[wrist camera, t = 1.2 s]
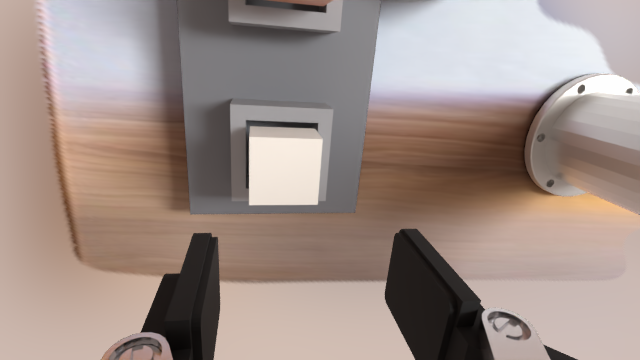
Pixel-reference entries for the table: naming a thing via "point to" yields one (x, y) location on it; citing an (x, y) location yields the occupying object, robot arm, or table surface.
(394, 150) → the table surface
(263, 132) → the pale key
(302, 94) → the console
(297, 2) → the terracotta key
